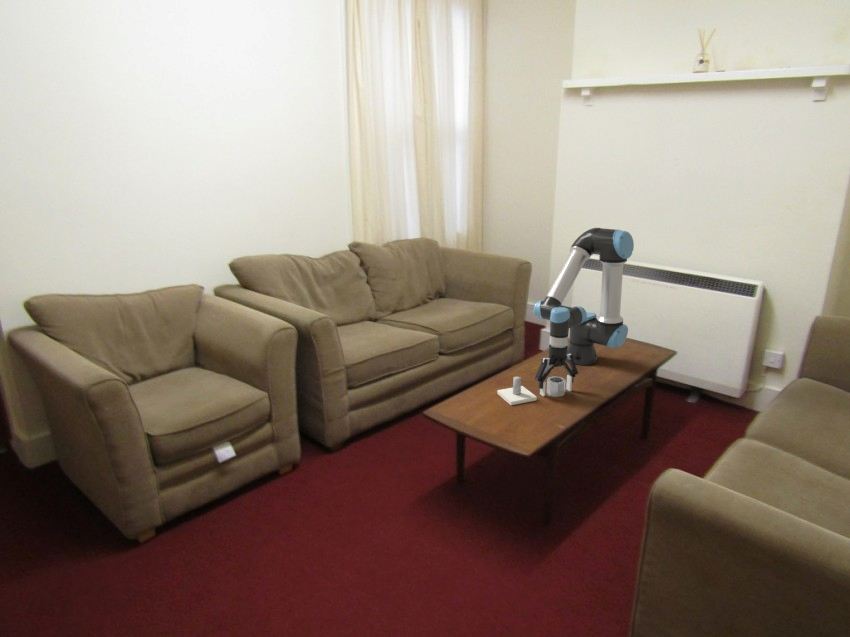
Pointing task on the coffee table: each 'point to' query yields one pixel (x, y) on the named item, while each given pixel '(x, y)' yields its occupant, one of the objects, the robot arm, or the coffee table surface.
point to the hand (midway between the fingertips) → (555, 392)
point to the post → (516, 393)
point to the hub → (556, 386)
